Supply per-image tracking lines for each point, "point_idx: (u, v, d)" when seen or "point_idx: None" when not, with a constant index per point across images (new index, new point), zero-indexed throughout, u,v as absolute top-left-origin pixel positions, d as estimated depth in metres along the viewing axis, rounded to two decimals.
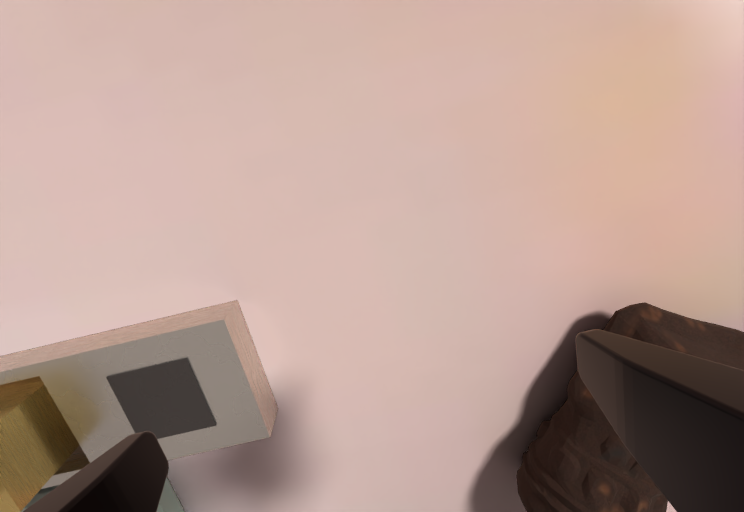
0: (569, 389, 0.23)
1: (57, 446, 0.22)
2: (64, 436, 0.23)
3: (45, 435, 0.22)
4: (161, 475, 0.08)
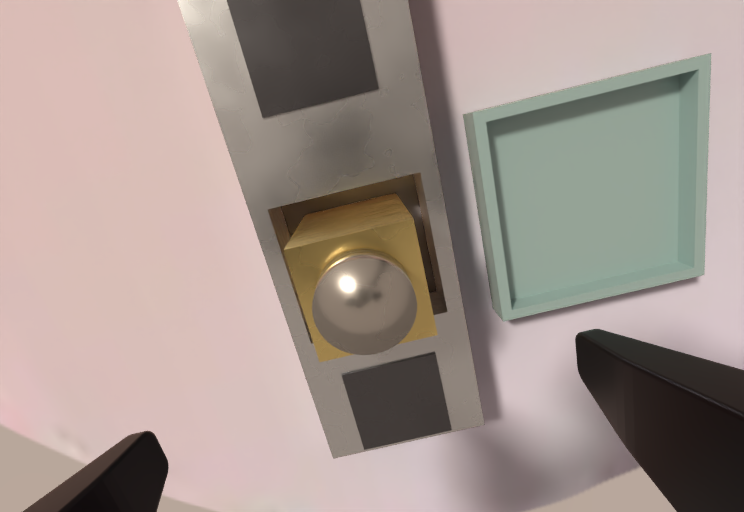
0: None
1: (377, 208, 0.16)
2: (372, 206, 0.17)
3: (353, 215, 0.16)
4: (161, 475, 0.08)
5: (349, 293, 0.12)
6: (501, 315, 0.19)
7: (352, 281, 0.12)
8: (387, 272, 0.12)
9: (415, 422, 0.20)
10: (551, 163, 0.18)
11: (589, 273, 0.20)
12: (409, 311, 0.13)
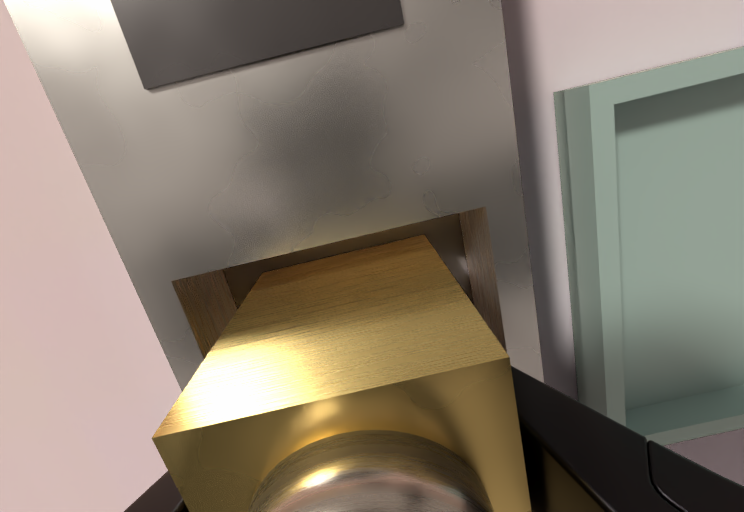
0: None
1: (396, 281, 0.08)
2: (385, 272, 0.08)
3: (346, 298, 0.08)
4: None
5: None
6: None
7: None
8: None
9: None
10: (713, 183, 0.10)
11: None
12: None
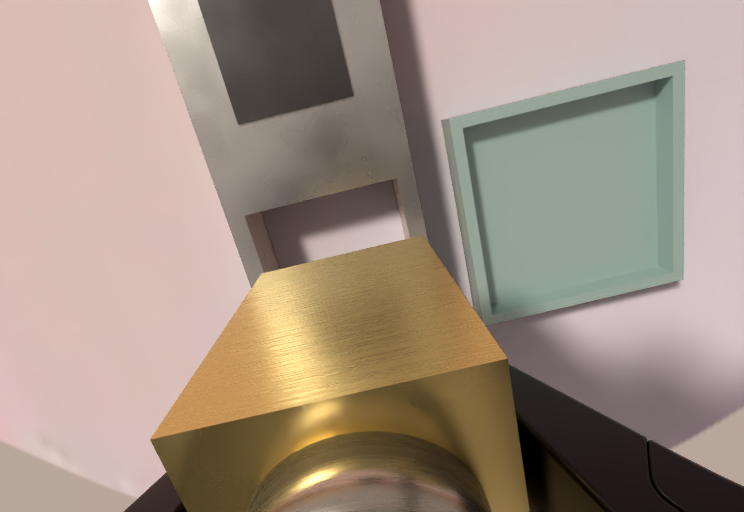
0: None
1: (395, 282, 0.08)
2: (384, 273, 0.08)
3: (345, 298, 0.08)
4: None
5: None
6: (482, 320, 0.19)
7: None
8: None
9: None
10: (530, 168, 0.18)
11: (570, 278, 0.20)
12: None
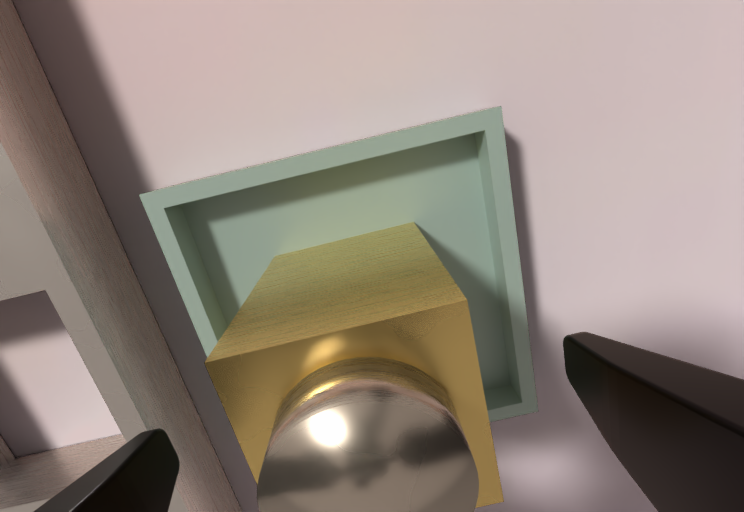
0: None
1: (388, 257, 0.09)
2: (380, 250, 0.10)
3: (346, 270, 0.09)
4: (173, 472, 0.08)
5: (335, 468, 0.06)
6: None
7: (342, 446, 0.06)
8: (418, 428, 0.06)
9: None
10: None
11: None
12: (462, 498, 0.06)
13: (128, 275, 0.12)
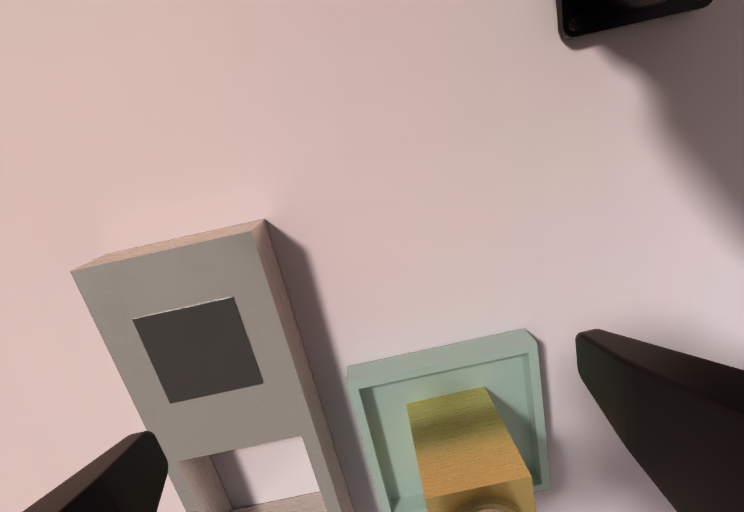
0: None
1: (481, 426, 0.19)
2: (474, 417, 0.20)
3: (462, 434, 0.19)
4: (161, 475, 0.08)
5: None
6: None
7: None
8: None
9: None
10: None
11: None
12: None
13: (322, 412, 0.22)
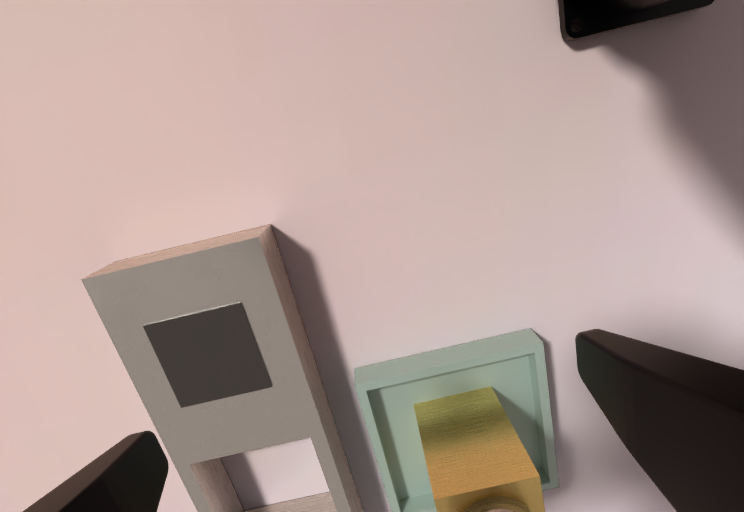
0: None
1: (489, 426, 0.19)
2: (482, 417, 0.20)
3: (470, 434, 0.19)
4: (161, 475, 0.08)
5: None
6: None
7: None
8: None
9: None
10: None
11: None
12: None
13: (330, 414, 0.22)
